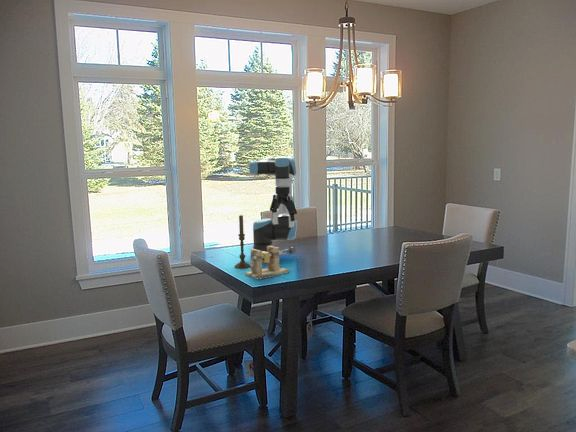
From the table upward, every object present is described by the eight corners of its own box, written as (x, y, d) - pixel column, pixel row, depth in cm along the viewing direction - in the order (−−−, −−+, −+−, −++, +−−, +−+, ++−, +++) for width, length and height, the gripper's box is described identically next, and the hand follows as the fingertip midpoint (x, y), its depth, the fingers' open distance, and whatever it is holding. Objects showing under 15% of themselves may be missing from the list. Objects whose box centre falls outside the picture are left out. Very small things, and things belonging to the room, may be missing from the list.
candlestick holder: (232, 268, 264) (230, 215, 259) (237, 264, 273) (235, 213, 268) (248, 268, 262) (246, 215, 258) (252, 264, 271) (250, 213, 267)
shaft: (252, 260, 247) (252, 253, 246) (290, 253, 263) (290, 246, 263) (256, 262, 244) (256, 254, 243) (295, 254, 260) (295, 247, 260)
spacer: (259, 261, 250) (259, 251, 250) (263, 260, 252) (263, 251, 252) (265, 262, 247) (264, 253, 246) (269, 261, 249) (269, 252, 248)
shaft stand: (245, 274, 250) (244, 249, 248) (275, 268, 262) (274, 243, 260) (258, 279, 241) (258, 252, 239) (289, 272, 253) (288, 246, 251)
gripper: (262, 185, 259) (263, 223, 262) (292, 188, 240) (292, 229, 243) (273, 184, 264) (274, 222, 267) (303, 187, 245) (303, 227, 248)
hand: (283, 225), depth 255 cm, fingers open, 13 cm apart
